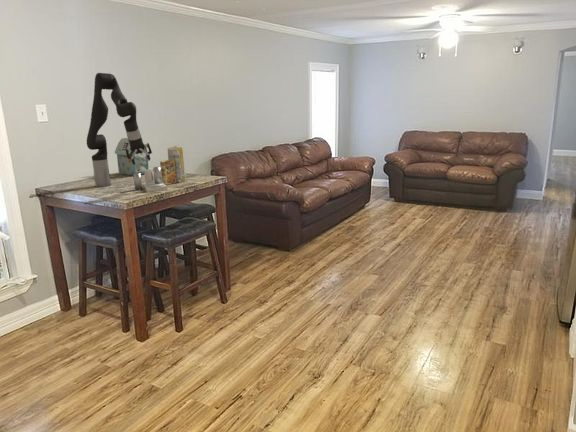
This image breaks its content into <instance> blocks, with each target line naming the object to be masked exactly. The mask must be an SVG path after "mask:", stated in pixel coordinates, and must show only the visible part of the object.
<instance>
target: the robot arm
mask: <svg viewBox="0 0 576 432" xmlns="http://www.w3.org/2000/svg"><path fill="white" fill-rule="evenodd" d="M102 90H111V93H110V98H111V99H110V100H111V101H112V102H113V104H114V105H115V109H116V110H115V111H116V114H117V115H118V116H119V117H120V118H126V117H129V118H127V119H125V120H124V121H123V126H124V129H125V133H126V138H128V141H129V144H130V148H128V149H127V148H126V149H125V150H126V154H127V158H128V159H131V160H132V163H133V164H134V165H135V161H134V156H135V154H139V153H142V152H144V153H145V154H147V157H148V162H149V161H150V160H151V156H150V155H151V154H153V151H152V147H151V146H150V143H149V142H146V144H145V143H144V141H143V137H142V133H141V130H140V129H139V126H138V121H137V106H136V104H135V103H134V102H132V101H128V99H127V98H126V96H125V94H123V92H122V90H121V88H120V85H119V82H118V80H117V78H116V77H115V75H114V74H113V73H107V72H106V73H105V72H97V73H96V74H95V76H94V90H93V101H92V107H91V114H90V115H91V116H90V122H89V128H88V132H87V136H86V146H87V148H88V149H89V150H91V151H92V150H93V151H94V150H97V152H96V153H94V154H93V155H92V156H91V160H92V169H93V177H94V183H95V188H98V187H99V188H102V187H110V186H111V185H112V184H111V175H110V169H109V161H108V146H107V145H108V143H107V139H106V136H105V135H104V134H101V133H100V134H99V133H98V132H99V131H100V130H101V128H102V127H103V126H104V125H105V123H107V119H108V114H109V107H108V105H107V103H106V101H105V100H104V98H103V96H102V95H103V94H102ZM143 143H144V144H145V145H144V144H143ZM145 147H146V148H147V151H146V150H145V149H144V148H145ZM130 150H131V151H132V154H131V156H129V153H128V152H130Z"/></svg>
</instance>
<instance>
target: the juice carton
mask: <svg viewBox="0 0 576 432" xmlns="http://www.w3.org/2000/svg"><path fill="white" fill-rule="evenodd" d="M167 156H168V157H167V160H174V163H175V172H176V182H177V183H182V182H185V181H186V168H185V157H184V156H185V155H184V148H183V147H182V146H181V147H180V146H179V145H174V146H171V147H167Z"/></svg>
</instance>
